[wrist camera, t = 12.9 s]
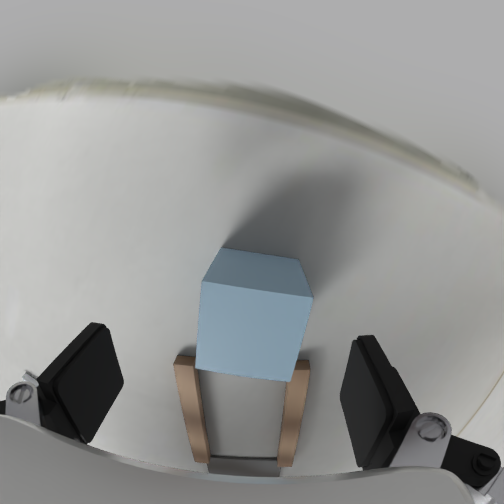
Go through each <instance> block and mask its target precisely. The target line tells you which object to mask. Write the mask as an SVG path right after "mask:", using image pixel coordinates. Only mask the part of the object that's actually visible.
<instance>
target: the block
mask: <svg viewBox="0 0 504 504" xmlns="http://www.w3.org/2000/svg"><path fill="white" fill-rule="evenodd" d="M312 302H313V295H312V292H311V290H310V287H309V285H308V282H307V279H306V277H305V274H304V272H303V269H302V267H301V264H300V262H299V259H292V258H286V257H279V256H273V255H267V254H260V253H254V252H247V251H241V250H234V249H228V248H222V247H221V249H220V250H219V252H218V254H217V255H216V257H215V259H214V261H213V262H212V264H211V266H210V268H209V269H208V271H207V273H206V275H205V276H204V278H203V280H202V285H201V296H200V308H199V320H198V333H197V348H196V364H195V368H196V369H202V370H207V371H212V372H218V373H224V374H230V375H237V376H243V377H251V378H258V379H266V380H275V381H285V382H290V381H291V378H292V374H293V371H294V368H295V364H296V361H297V358H298V354H299V351H300V347H301V344H302V340H303V336H304V333H305V329H306V325H307V322H308V318H309V314H310V310H311V306H312Z"/></svg>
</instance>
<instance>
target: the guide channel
mask: <svg viewBox="0 0 504 504" xmlns="http://www.w3.org/2000/svg"><path fill="white" fill-rule="evenodd" d="M195 364H196V357H190V356H180V355H177V357H176V360H175V362H174V364H173V365H174V371H175V376H176V382H177V387H178V392H179V397H180V402H181V406H182V411H183V416H184V420H185V424H186V429H187V433H188V437H189V441H190V445H191V449H192V453H193V456H194V460H195V462H199V463H207V465H208V470H209V473H210V474H220V475H231V476H247V477H279V474H280V469H281V467H292V464H293V459H294V455H295V450H296V446H297V441H298V436H299V431H300V426H301V421H302V416H303V411H304V405H305V400H306V394H307V388H308V382H309V375H310V366H309V361H308V360H297V361H296V364H295V368H294V371H293V374H292V378H291V381H290V382H286V391H285V400H284V409H283V418H282V426H281V433H280V441H279V448H278V456H277V458H237V457H223V456H212V455H211V454H210V449H209V443H208V437H207V431H206V425H205V419H204V412H203V406H202V399H201V392H200V384H199V377H198V369H196V368H195Z"/></svg>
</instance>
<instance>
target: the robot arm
mask: <svg viewBox="0 0 504 504" xmlns="http://www.w3.org/2000/svg"><path fill="white" fill-rule="evenodd" d="M36 380H37V382H38V384H39V385H38V386H37V387H36V386H35V385H34V384H33V383H31V382H27V381H23V382H19V383H16V384H14V385H13V386H12V387H10V388H9V390H8V392H7V395H6V400H4V401H0V504H504V467H503V468H502V467H501V461H500V457H499V455H498V454H497V453H496V452H495V451H494V450H493V449H491V448H488V447H485V446H482V445H479V444H476V443H473V442H470V441H467V440H464V439H462V438H459V437H456V436H453V435H451V431H452V428H451V425H450V423H449V421H448V420H447V419H446V418H445V417H443V416H442V415H439V414H437V413H432V412H429V413H423V414H420V412H419V410H418V408H417V407H416V405H415V403H414V401H413V399H412V397H411V395H410V393H409V392H408V390H407V388H406V386H405V384H404V382H403V381H402V379H401V377H400V375H399V373H398V372H397V370H396V369H395V368H394V367H392V366H391V364H390V362H389V361H388V359H387V357H386V355H385V354H384V352H383V350H382V348H381V347H380V345H379V343H378V341H377V340H376V338H375V336H374V335H364V336H358V338H357V340H353V342H352V346H351V350H350V355H349V359H348V363H347V368H346V372H345V376H344V380H343V384H342V387H341V391H340V401H341V405H342V408H343V412H344V416H345V419H346V423H347V427H348V431H349V435H350V438H351V442H352V446H353V450H354V454H355V458H356V462H357V466H358V467H362V468H363V471H356V472H348V473H340V474H330V475H317V476H300V477H247V476H231V475H220V474H210V473H202V472H195V471H188V470H182V469H176V468H170V467H165V466H160V465H156V464H151V463H147V462H143V461H138V460H135V459H131V458H127V457H123V456H120V455H116V454H113V453H110V452H107V451H103V450H100V449H97V448H94V447H92V446H89V445H87V443H90V442H91V441H92V439H93V438H94V436H95V434H96V432H97V431H98V429H99V427H100V425H101V423H102V422H103V420H104V418H105V416H106V415H107V413H108V411H109V409H110V408H111V406H112V404H113V402H114V401H115V399H116V397H117V396H118V394H119V392H120V390H121V389H122V387H123V384H124V380H123V376H122V373H121V370H120V366H119V363H118V360H117V356H116V353H115V349H114V345H113V342H112V338H111V334H110V330H109V329H108V328H106V326H105V325H104V324H100V323H94V322H91V323H90V324H89V325H88V326H87V327H86V328H85V329H84V330H83V331H82V332H81V333H80V334H79V335H78V336H77V337H76V338H75V339H74V340H73V341H72V342H71V343H70V344H69V345H68V346H67V347H66V348H65V349H64V350H63V351H62V352H61V353H60V354H59V356H58V357H57V358H56V359H55V360H54V361H53V362H52V363H51V364H50V365H49V366H48V367H47V368H46V369H45V371H44V372H43V373H42V374H41V375H40V376H39V377H38V378H37V379H36Z"/></svg>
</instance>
